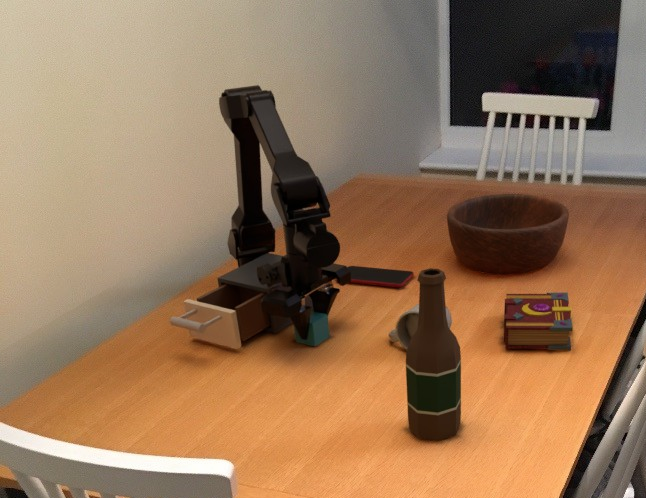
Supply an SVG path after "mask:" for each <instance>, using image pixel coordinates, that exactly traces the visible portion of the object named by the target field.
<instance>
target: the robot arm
mask: <svg viewBox="0 0 646 498" xmlns="http://www.w3.org/2000/svg"><path fill="white" fill-rule="evenodd" d="M218 106H219V111H220V115H221V117H222V119H223V121H224V124H226V126H227V127H228V129H229V130H230V132H231V133H232V134H233V145H234V159H235V160H234V161H235V174H236V186H237V187H236V188H237V200H238V206H237V207H236V209H235V211H234V213H232V216H231V219H230V222H231V225H230V226H231V229H229V232H228V237H227V248H228V251H229V255H231V257H232V258H233V259H234V260H236V261H237V268H238V267H240V266H242V265H244V264H246V263H248V262H250V261H253V260H255V259H257V258H259V257H261V256H263V255H265V254H267V253H275V252H276V228H275V227H274V226H273V223H272V221H271V219H270V218H269V217H268V215H267V213H266V212H265V210H264V206H263V205H264V204H263V185H262V162H261V149H262V151H263V153H264V157H265V158H266V160H267V163H268V165H269V167H270V170H271V173H272V174H271V181H270V195H271V200H272V202H273V204H274V207H275V209H276V211H277V213H278V215H279V218H280V221H281V222H282V228H283V235H284V238H283V239H284V245H285V253H286V254H284V255H282V256H283V257H282V258H281V261H279V262H276V263H274V264H272V265H270V264H269V263H267V264H265V265H264V264H263V265H261V266H259V267H257V277H258V280H259V282H260V284H262V285H265V284H267V286H268V287H271V286H272V285H275V284H279V283H282V286H283V287H291V289H292V290H291V291H289V292H287V291H282V290H278V289H276V290H274V291H272V292H271V293H269V294H267V295H265V296H264V297H263V298H262V299H261V307H262V312H263V313H267V314H271V315H276V316H280V317H284V318H288V317H290V319H291V320H292V322H293V323H292V324H293V327H294V326H295V328H296V330H297V332H298V334H299V336H300V337H301V339H303V340H306V339H307V337H308V332H309V324H310V316H311V308H312V307H311V306H306V305H305V297H306V296H307V295H309V296H310V298H311V299H312V304H313V310H314V312H319V313H323V314H327V315H328V316H329V315H330V312H331V309H332V307H333V305H334V303H335V301H336V299H337V296H338V294H339V293H340V291H341V289H340V288H338V287H334V284H333V281H334V280H336V279H337V280H336V281H337V284H338V285H339V286H341V287H344V286H346V285H348V284H350V283H352V282H351V271H350V270H349V269H348V268H347V267H348V266H347V265H345V264H340V263H335V262H336V261H337V260H338V258H339V256H340V253H341V244H340V242H339V239H338V238H337V236H336V235H335V234H333V232H331V231H330V230H328V226H327V224H326V223H325V222H324V221H323V219H327V218H331V211H330V208H331V204H330V201H329V198H328V195H327V193H326V191H325V188H324V186H323V183H322V182H321V180H320V178H319V176H318V175H316V173H315V172H314V170H313V168H312V166H311V165H310V162H308V161H307V160H305V159H304V158H301V157H300V156H299V155H298V154H297V153H296V150H295V148H294V146H293V144H292V142H291V139H290V137H289V135H288V133H287V130H286V128H285V126H284V123H283V121H282V119H281V117H280V114H279V112H278V110H277V104H276V99H275V96H274V93H273V91H272V90H271V89H269V90H267V89H262V88H261V86H260V85H259V84H256V85H249V86H248V85H247V86H242V87H234V88H226V89H224V91H223V92H222V93H221V95H220V97H219V98H218ZM317 205H318V206H317ZM316 206H317V207H316Z"/></svg>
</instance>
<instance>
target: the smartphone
mask: <svg viewBox="0 0 646 498" xmlns="http://www.w3.org/2000/svg"><path fill="white" fill-rule="evenodd" d="M347 268H348V269H349V270H350V271H351V282H350V283H352V284H363V285H372V286H382V287H390V288H402V287H404V286H405V284H406V283H408V281H410V280H411V278H412V277H414V275H415V273H414V272H413V271H412V270H403V269H402V270H401V269H392V268H380V267H371V266H370V267H369V266H360V265H359V266H358V265H349V266H347ZM335 280H336V281H337V279H335Z"/></svg>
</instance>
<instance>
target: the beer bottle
mask: <svg viewBox="0 0 646 498" xmlns="http://www.w3.org/2000/svg"><path fill="white" fill-rule="evenodd" d="M446 279H447V276H446V273H445V271H443V270H442V269H440V268H433V267H431V268H425V269H422V270H420V272H419V273H418V276H417V280H416V281H417V282H418V283H419V296H418V304H419V320H418V326H417V331H416V332H415V334H414V335H413V337H412V338H411V340H410V342H409V345H408V348H407V350H406V351H405V377H406V379H405V380H406V400H407V401H406V402H407V403H406V404H407V405H406V406H407V421H408V429H409V430H410V432H411V433H412V434H414V436H416V437H417V438H418V439H419V440H424V441H425V440H426V441H432V442H440V441H443V440H446V439H450V438H452V437H455V436H456V434H457V432H458V430H459V428H460V425H461V417H462V355H461V346H460V344H459V341H458V339H457V337H456V335H455V334H454V332H453V331H452V330H451V328H450V329H449V327H448V322H447V317H446V307H447V305H446V295H445V281H446Z"/></svg>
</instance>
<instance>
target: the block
mask: <svg viewBox="0 0 646 498" xmlns="http://www.w3.org/2000/svg"><path fill="white" fill-rule="evenodd" d="M329 326H330V325H329V315H327V314H323V313H319V312H314V311H311V316H310V324H309V332H308V337H307V339H306V340H303V339H301V337H300V336H299V334H298V332H297V330H296V328H295V326H294V325H293V330H294V331H293V332H294V338H295V342H296V343H298V344H299V343H300V344H304V345H306V346H307V345H308V346H312V347H317V346H318V345H320V344H321V343H323V342H324V341H325V340H327V339H329V338H330V327H329Z"/></svg>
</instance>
